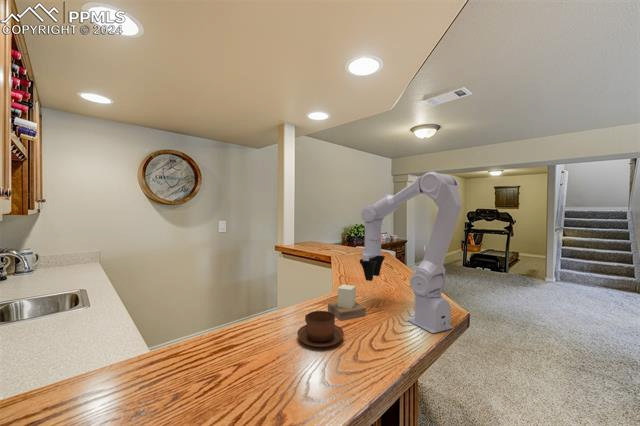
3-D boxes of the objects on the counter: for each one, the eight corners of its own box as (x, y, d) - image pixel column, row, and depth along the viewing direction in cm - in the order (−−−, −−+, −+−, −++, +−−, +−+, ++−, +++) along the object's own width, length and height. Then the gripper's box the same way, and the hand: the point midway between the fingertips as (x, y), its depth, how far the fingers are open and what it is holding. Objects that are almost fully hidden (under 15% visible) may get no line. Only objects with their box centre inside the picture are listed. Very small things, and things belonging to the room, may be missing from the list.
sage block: (355, 304, 87) (355, 286, 87) (351, 308, 83) (351, 289, 83) (342, 302, 89) (342, 284, 89) (337, 306, 85) (337, 287, 85)
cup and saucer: (288, 344, 66) (288, 320, 66) (311, 326, 77) (311, 305, 77) (331, 357, 61) (331, 330, 60) (350, 335, 71) (350, 312, 71)
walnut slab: (365, 317, 84) (366, 308, 84) (341, 322, 80) (341, 312, 80) (351, 308, 92) (351, 299, 92) (327, 312, 88) (327, 303, 88)
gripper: (368, 237, 102) (368, 272, 102) (354, 241, 89) (354, 281, 90) (387, 238, 98) (386, 274, 99) (374, 242, 86) (374, 284, 86)
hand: (372, 277), depth 94 cm, fingers open, 7 cm apart
